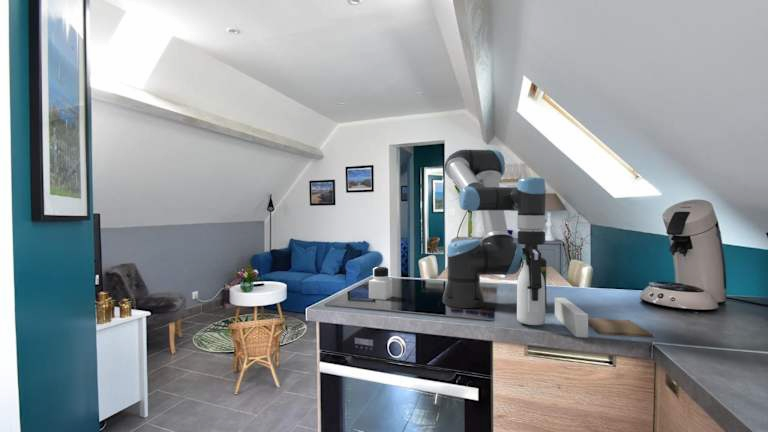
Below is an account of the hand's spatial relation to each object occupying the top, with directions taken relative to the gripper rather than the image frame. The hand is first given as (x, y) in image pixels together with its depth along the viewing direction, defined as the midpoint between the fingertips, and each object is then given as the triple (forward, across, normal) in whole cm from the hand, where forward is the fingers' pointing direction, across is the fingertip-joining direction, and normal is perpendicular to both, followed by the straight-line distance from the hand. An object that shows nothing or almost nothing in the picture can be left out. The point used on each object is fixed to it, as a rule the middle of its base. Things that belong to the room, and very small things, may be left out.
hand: (530, 307), depth 103 cm
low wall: (+5, +2, -11) cm, 12 cm away
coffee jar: (+6, +21, -5) cm, 22 cm away
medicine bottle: (+6, +26, +51) cm, 57 cm away
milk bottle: (+4, 0, 0) cm, 4 cm away
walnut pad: (+5, +2, -23) cm, 24 cm away
